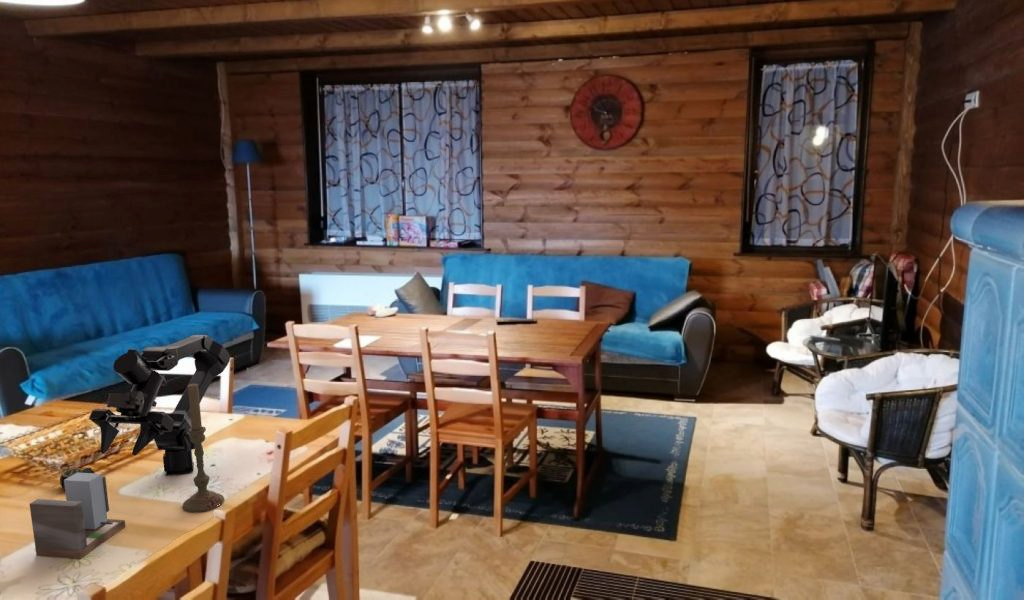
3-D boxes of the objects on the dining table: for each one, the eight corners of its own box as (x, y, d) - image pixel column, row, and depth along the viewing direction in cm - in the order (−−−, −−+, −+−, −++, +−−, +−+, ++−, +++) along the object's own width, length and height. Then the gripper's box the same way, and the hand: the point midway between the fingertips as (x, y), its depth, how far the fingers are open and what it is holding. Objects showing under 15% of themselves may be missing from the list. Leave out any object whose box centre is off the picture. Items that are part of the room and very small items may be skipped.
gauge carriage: (84, 517, 163) (78, 471, 162) (120, 520, 162) (114, 473, 160) (69, 527, 159) (63, 480, 157) (106, 530, 158) (100, 482, 156)
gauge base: (84, 523, 165) (78, 475, 163) (125, 526, 163) (120, 477, 161) (36, 555, 151) (29, 503, 149) (80, 559, 150) (73, 506, 148)
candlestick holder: (198, 515, 168) (187, 389, 163) (174, 506, 173) (162, 383, 167) (232, 500, 176) (222, 379, 170) (208, 492, 180) (197, 374, 175)
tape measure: (88, 489, 183) (87, 475, 182) (57, 493, 181) (55, 479, 180) (94, 479, 189) (93, 465, 189) (64, 482, 187) (63, 468, 187)
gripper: (89, 376, 173) (60, 437, 165) (162, 379, 170) (136, 441, 162) (115, 398, 182) (89, 457, 174) (184, 400, 180) (161, 461, 171)
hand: (118, 454), depth 170 cm, fingers open, 8 cm apart
